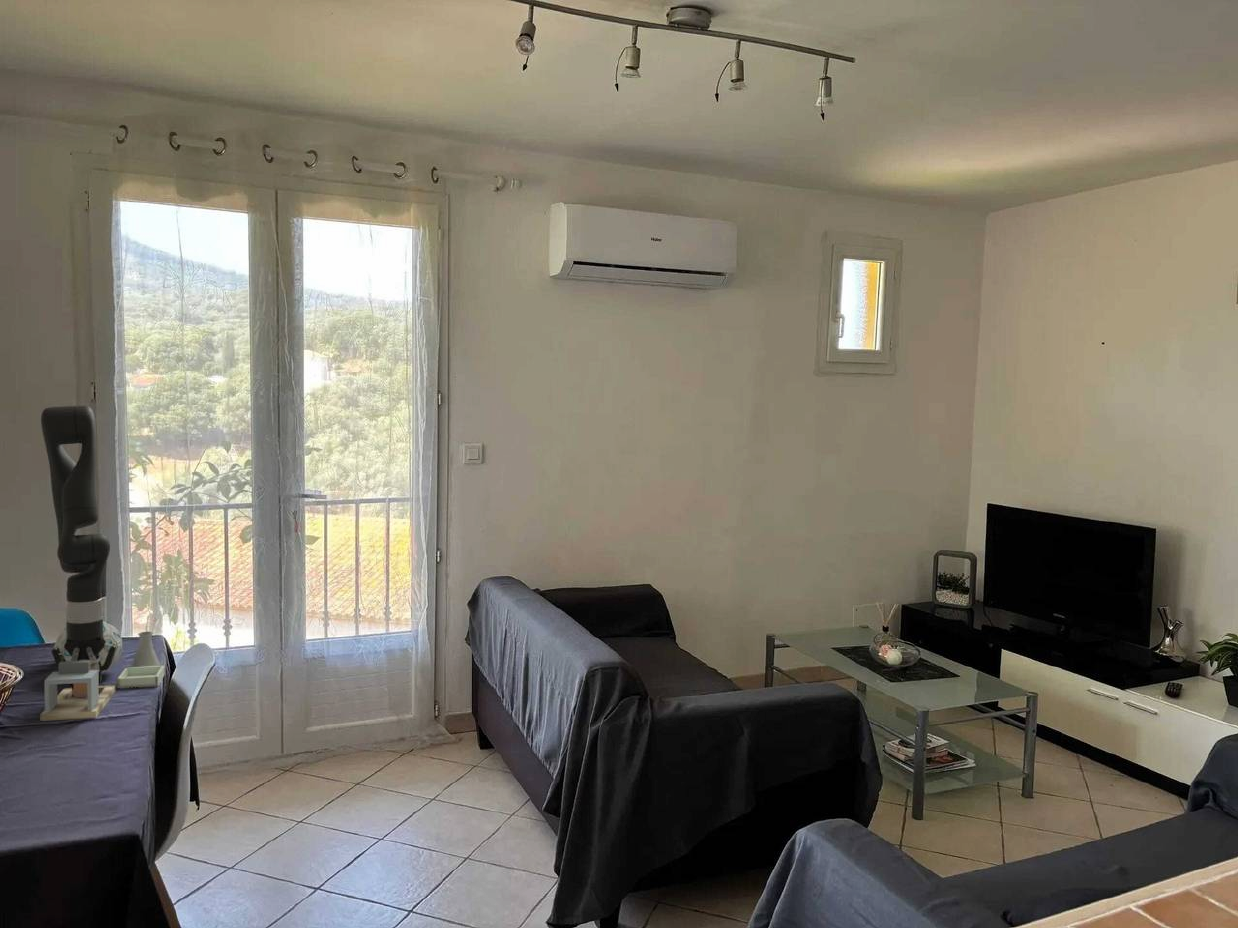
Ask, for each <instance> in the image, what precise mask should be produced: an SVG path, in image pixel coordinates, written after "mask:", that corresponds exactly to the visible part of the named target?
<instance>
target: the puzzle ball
mask: <svg viewBox="0 0 1238 928" xmlns="http://www.w3.org/2000/svg"><path fill="white" fill-rule="evenodd" d="M103 638H104V640H105V641H106V643H108V644H112V645H113V644H117V645H118V647H117V650H116V653H115V655H114V658H113V660H112V663H111V666H110V667H109V668H108V669H107V670H103V671H102V675H103V674H105V673H106V672H108V671H109V670H110V669H111V668H113V667H114V666H115V665H116V664H117V663H118V661H119V660H120V657H121V654H122V652H123V639H122V637H121V634H120V632H119V630H118V629H117V628H116V627H115V626H113V624H111V623H109V622H108V621H107V622H106V621H103ZM66 640H67V639H66V627H65V628H64V629H63V631H61V632H60V633H59V635H58V636H57V638H56V641H55V644H54V646H53V649H54V648H55V647H56V646H59V647H60V646H63V645H64V644H65V643H66ZM63 655H64V657H65V660H66V661H71V659H72V656H71V655H70V654H69V653H68V652H67V651H66V650H65V653H64V654H63ZM99 655H100V661H101V664H104V663H105V660H106V657H107V655H108V653H106V649H105V648H103V649H102V650H101V651H100V653H99ZM80 661H85V659H84V660H80Z"/></svg>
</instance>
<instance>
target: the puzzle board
mask: <svg viewBox="0 0 1238 928" xmlns="http://www.w3.org/2000/svg"><path fill="white" fill-rule="evenodd" d="M115 693H116V685H103V686H102V685H99V701H98V703H97V704H96V705H95V706H94V708H93V709H92V710H89V711H88V701H87V697H76V698H71V697H72V696H74V689H72V687H66V688H63V689H62V690H60V693H59V694H57V704H56V706H55V707H54V708H53V709H52V710H51V711H50V712H49V713H45V709H44V710H43V711H42V712H41V713H40V717H39V719H40V722H49V721H51V722H52V721H63V720H67V721H68V720H79V719H80V720H81V719H95V718H97V717H98V716H99V714H100V713H101V712H102V711H103V709H104V708H105V706H106V705H107V703H108V702H109V701H110V699H111V698H112V696H113V695H114V694H115Z"/></svg>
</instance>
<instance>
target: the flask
mask: <svg viewBox="0 0 1238 928" xmlns="http://www.w3.org/2000/svg"><path fill="white" fill-rule="evenodd" d="M153 634H154V633H153V632H152V631H149V630H148V631H141V632H139V633H138V636H139V642H138V646H137V650H136V653H135V655H134V658H133V660H132V661H131V665H130V667H146V666H162V665H161V662H160V661H159V658H158V657H157V654H156V652H155V649H154V646H153V641H152V640H153V639H152V636H153Z"/></svg>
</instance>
